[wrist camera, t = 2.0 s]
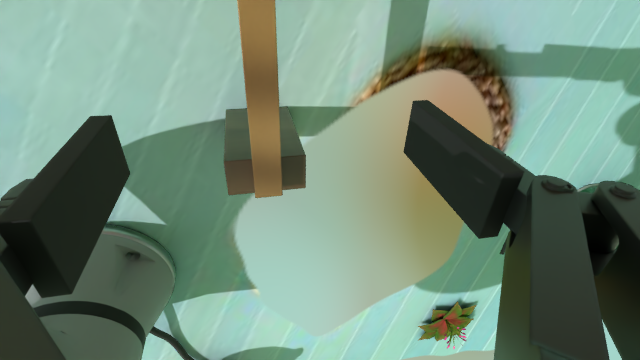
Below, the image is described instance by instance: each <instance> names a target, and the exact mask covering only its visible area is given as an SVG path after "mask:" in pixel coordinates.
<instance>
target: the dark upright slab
mask: <svg viewBox="0 0 640 360" xmlns="http://www.w3.org/2000/svg"><path fill="white" fill-rule="evenodd" d="M279 116H280V142H281V168H282V190H288V189H298V188H305V187H306V186H305V183H306V181H305V178H306V176H305V175H306V168H305V167H306V155H305V152H304V150H303V147H302V144H301V142H300V139H299V136H298V134H297V131H296V128H295V126H294V123H293V120H292V118H291V115H290V112H289V109H288V107H279ZM224 167H225V174H226V181H227V188H228V194H229V195H237V194H247V193H255V188H254V177H253V166H252V155H251V144H250V133H249V123H248V112H247V109H231V110H226V121H225V145H224Z"/></svg>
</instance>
